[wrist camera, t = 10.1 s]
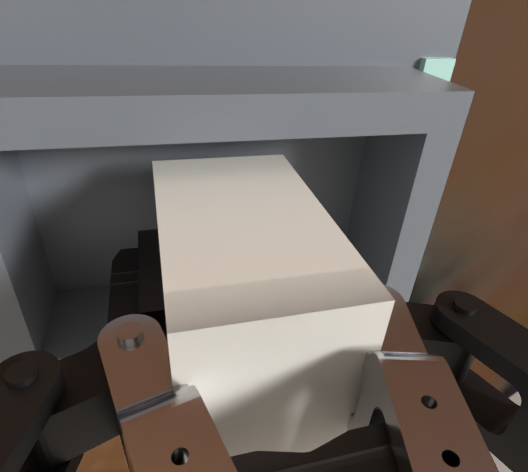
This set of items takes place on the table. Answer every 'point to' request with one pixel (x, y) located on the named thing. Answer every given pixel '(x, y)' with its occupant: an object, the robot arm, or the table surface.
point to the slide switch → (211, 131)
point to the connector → (264, 301)
